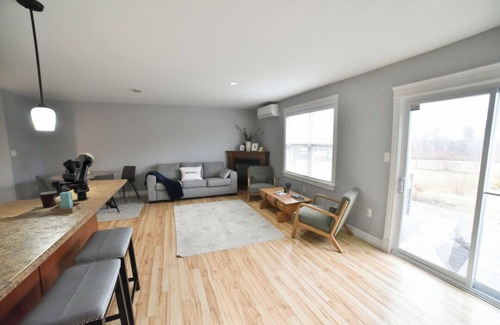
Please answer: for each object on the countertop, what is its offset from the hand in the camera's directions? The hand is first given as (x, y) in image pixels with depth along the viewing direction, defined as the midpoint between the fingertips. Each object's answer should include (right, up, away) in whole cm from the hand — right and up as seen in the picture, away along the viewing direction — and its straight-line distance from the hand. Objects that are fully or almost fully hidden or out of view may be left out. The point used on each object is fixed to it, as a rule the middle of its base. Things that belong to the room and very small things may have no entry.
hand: (67, 194), depth 137 cm
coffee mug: (-19, -10, +9) cm, 24 cm away
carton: (+1, -11, 0) cm, 11 cm away
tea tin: (+1, -10, -1) cm, 10 cm away
